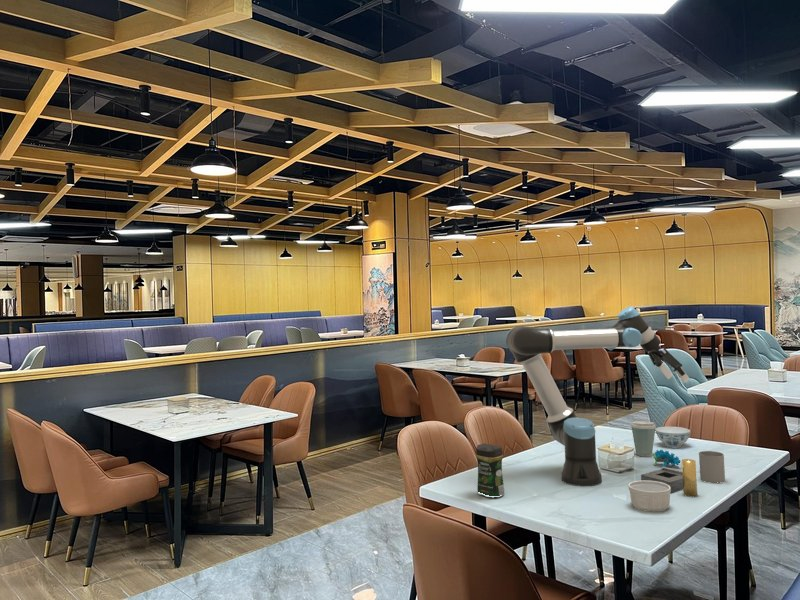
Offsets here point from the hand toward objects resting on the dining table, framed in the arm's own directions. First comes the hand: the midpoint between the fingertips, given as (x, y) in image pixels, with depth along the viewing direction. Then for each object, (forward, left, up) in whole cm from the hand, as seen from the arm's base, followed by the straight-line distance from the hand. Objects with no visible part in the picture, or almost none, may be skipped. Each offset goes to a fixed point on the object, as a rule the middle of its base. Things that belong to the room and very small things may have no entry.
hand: (678, 379), depth 243 cm
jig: (-29, -13, -36) cm, 48 cm away
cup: (-10, -19, -36) cm, 42 cm away
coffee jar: (-87, +19, -36) cm, 96 cm away
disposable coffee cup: (+3, +20, -36) cm, 41 cm away
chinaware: (+27, +22, -36) cm, 50 cm away
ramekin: (-53, -23, -36) cm, 68 cm away
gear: (-6, +3, -36) cm, 37 cm away
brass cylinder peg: (-32, -24, -36) cm, 54 cm away
